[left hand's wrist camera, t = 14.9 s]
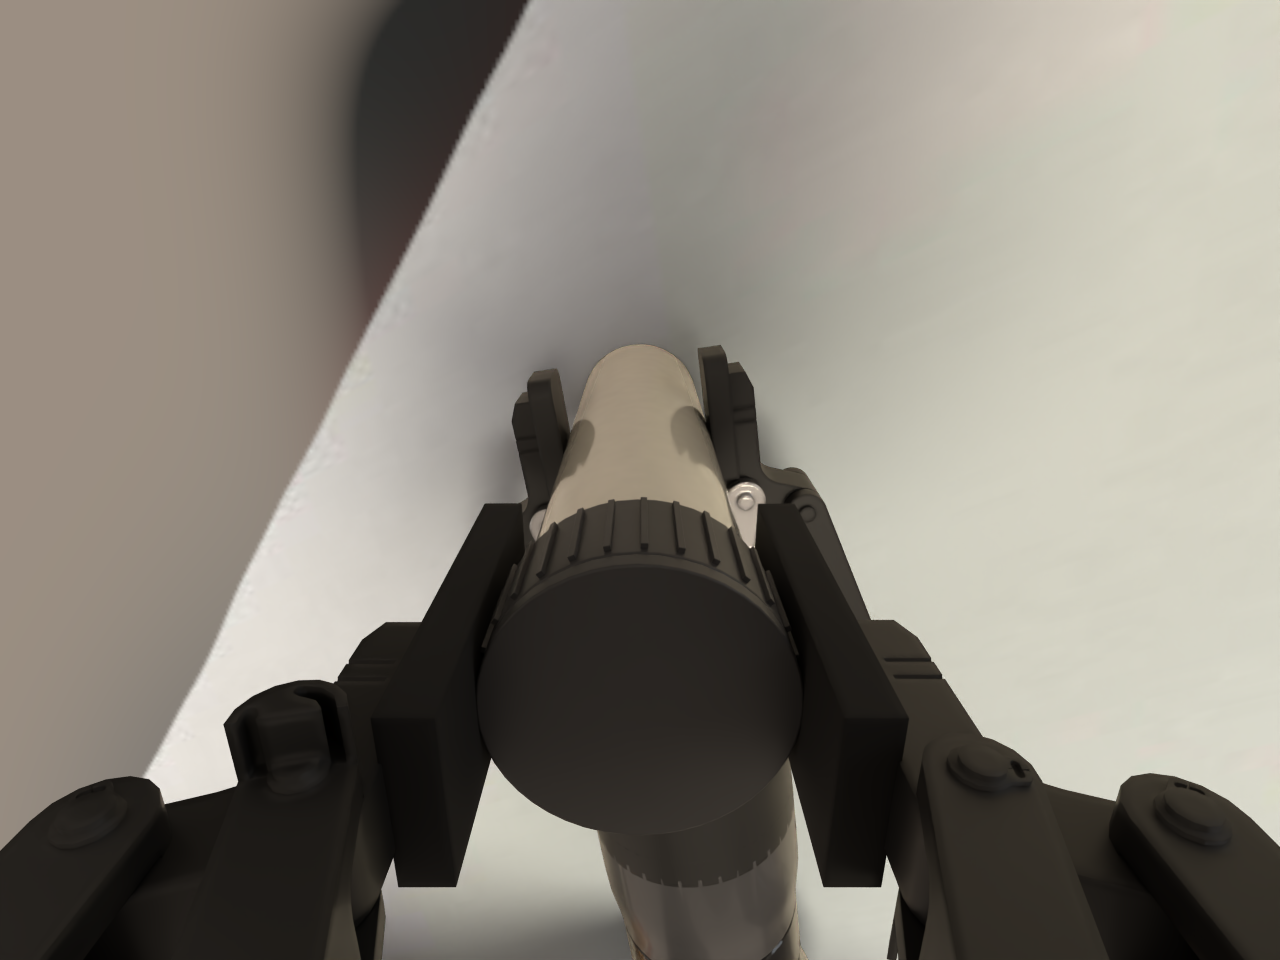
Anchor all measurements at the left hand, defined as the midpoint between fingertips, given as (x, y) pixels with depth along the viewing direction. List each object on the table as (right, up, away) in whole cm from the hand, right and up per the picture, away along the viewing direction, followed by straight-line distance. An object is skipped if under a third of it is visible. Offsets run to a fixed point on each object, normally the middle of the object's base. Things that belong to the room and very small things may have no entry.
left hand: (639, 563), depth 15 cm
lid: (0, -2, -4) cm, 4 cm away
